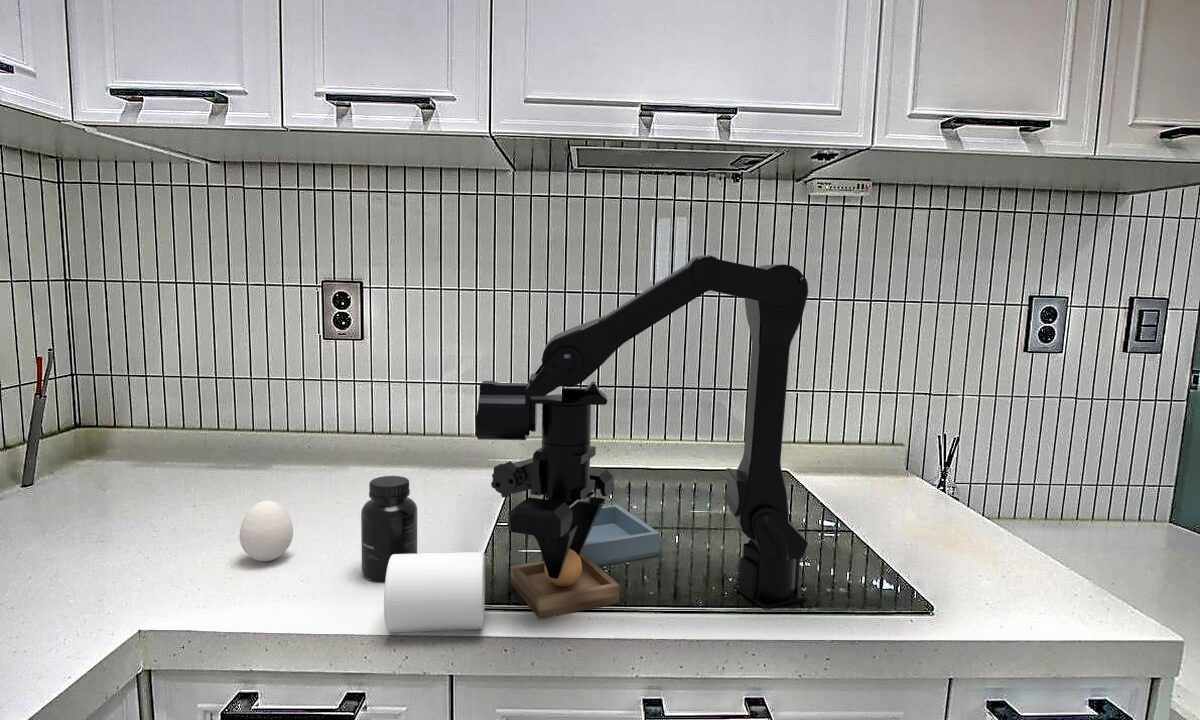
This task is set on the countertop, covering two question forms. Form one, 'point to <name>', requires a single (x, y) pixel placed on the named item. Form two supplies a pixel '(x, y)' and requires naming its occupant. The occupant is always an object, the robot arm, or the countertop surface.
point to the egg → (266, 531)
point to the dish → (620, 538)
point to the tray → (564, 589)
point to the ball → (568, 570)
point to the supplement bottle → (387, 525)
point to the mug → (435, 592)
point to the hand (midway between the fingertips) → (564, 567)
